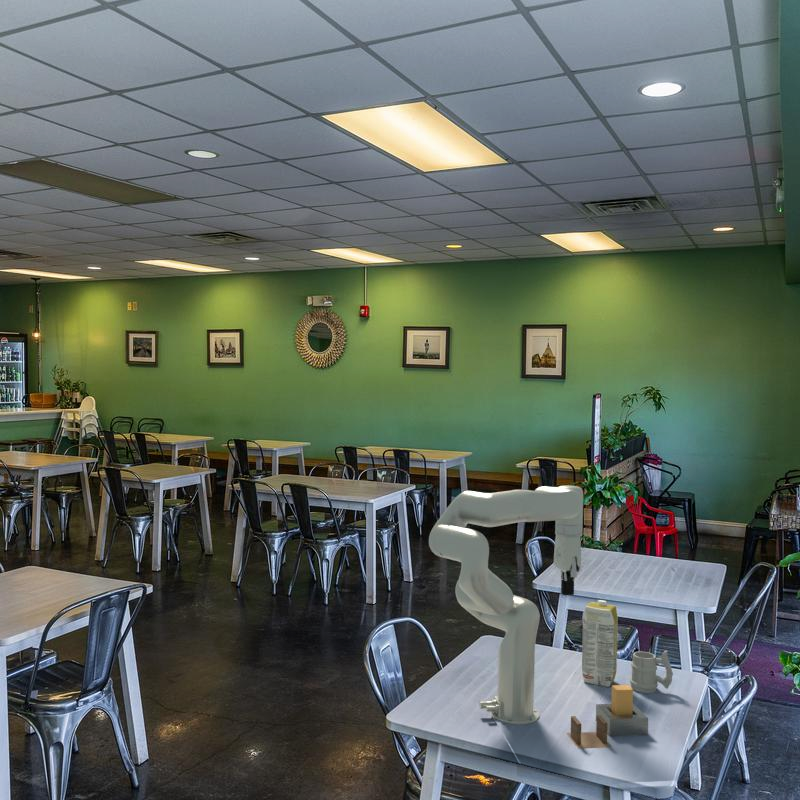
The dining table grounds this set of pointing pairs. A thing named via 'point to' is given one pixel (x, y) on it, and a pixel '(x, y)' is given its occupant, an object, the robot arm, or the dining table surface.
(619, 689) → the plug
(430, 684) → the dining table surface
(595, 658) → the juice carton
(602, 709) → the port block
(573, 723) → the tan u-shaped piece
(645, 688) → the mug
